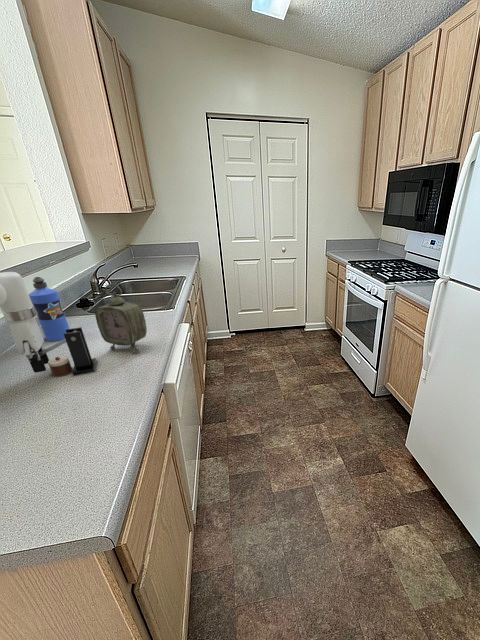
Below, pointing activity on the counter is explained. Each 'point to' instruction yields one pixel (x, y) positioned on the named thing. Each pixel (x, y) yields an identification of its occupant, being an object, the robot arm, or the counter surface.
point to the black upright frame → (79, 351)
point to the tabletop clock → (121, 321)
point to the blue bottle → (48, 310)
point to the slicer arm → (53, 346)
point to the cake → (60, 366)
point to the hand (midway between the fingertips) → (42, 367)
